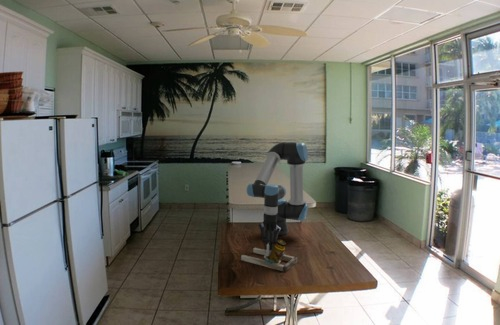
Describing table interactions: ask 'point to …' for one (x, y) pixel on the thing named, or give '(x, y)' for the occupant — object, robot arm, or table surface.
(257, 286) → the table surface
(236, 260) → the table surface
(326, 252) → the table surface
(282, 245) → the condiment
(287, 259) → the rail track
